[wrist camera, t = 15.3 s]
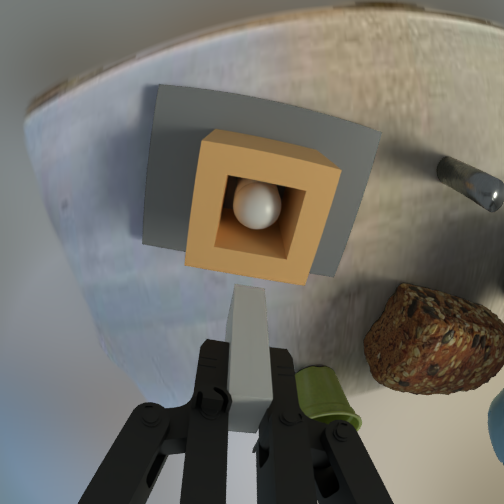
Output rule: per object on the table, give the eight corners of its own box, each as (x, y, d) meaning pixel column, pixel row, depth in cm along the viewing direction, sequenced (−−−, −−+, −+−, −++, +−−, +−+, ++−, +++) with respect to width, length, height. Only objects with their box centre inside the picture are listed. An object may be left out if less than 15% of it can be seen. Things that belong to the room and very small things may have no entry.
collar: (316, 149, 23) (341, 170, 16) (292, 239, 26) (304, 285, 20) (215, 128, 22) (201, 140, 16) (199, 222, 26) (184, 265, 19)
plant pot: (358, 376, 38) (373, 427, 30) (304, 405, 41) (311, 454, 33) (324, 345, 35) (338, 403, 27) (264, 379, 38) (266, 435, 30)
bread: (488, 301, 33) (524, 347, 24) (448, 355, 38) (474, 403, 29) (399, 272, 30) (441, 334, 21) (355, 342, 35) (377, 408, 26)
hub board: (375, 130, 23) (418, 144, 16) (330, 269, 30) (350, 318, 23) (164, 85, 21) (130, 81, 15) (147, 236, 28) (118, 281, 21)
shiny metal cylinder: (460, 162, 24) (509, 185, 17) (452, 187, 25) (498, 215, 19) (441, 152, 24) (490, 174, 17) (433, 179, 25) (479, 207, 18)
